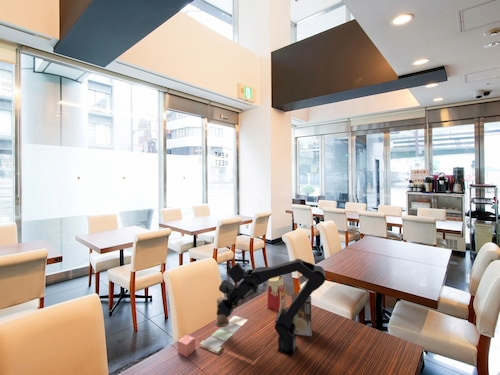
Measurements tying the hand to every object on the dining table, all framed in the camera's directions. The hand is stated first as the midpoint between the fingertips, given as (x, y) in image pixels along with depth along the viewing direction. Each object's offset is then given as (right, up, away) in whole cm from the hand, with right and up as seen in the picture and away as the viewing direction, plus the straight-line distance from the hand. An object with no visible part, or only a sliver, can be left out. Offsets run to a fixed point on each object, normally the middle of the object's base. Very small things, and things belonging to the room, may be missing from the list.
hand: (219, 311), depth 115 cm
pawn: (+1, -5, 0) cm, 6 cm away
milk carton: (+28, -11, +25) cm, 39 cm away
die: (-13, -12, -9) cm, 20 cm away
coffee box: (+38, -12, +4) cm, 40 cm away
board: (+3, -12, +3) cm, 12 cm away
